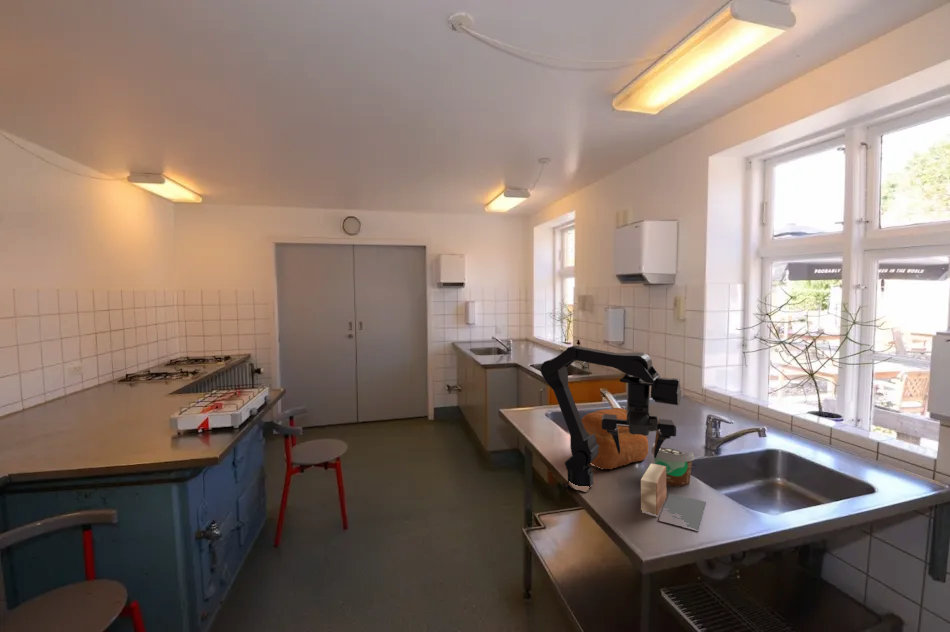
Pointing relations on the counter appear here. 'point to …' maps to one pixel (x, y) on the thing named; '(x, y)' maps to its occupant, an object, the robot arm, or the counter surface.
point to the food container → (675, 465)
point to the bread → (608, 455)
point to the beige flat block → (653, 488)
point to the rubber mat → (686, 509)
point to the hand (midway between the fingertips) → (636, 455)
